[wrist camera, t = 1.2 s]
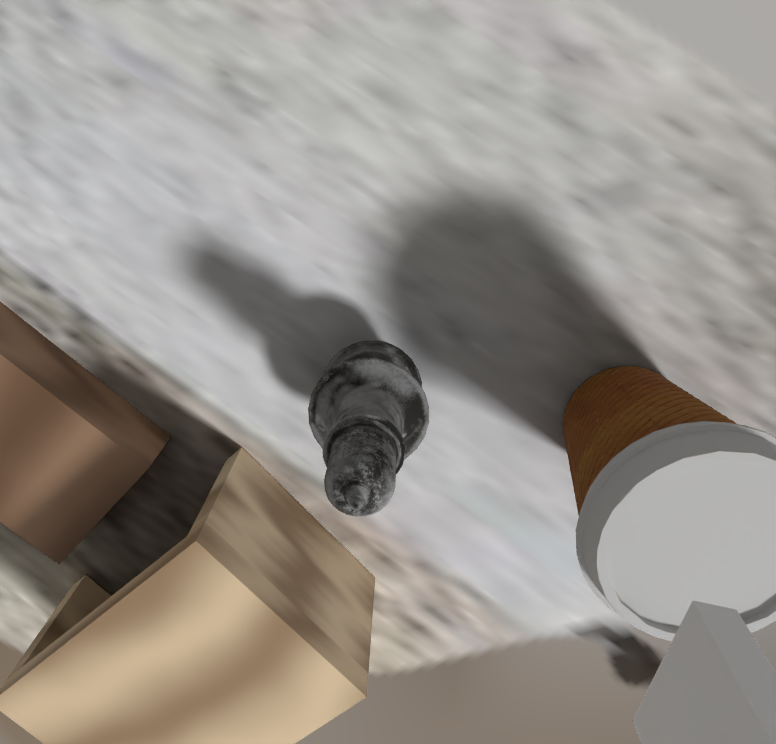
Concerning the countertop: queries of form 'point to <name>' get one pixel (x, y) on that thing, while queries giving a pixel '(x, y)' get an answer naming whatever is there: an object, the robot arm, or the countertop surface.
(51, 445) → the dark brown block
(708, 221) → the countertop surface
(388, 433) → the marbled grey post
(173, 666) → the oak bridge
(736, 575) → the disposable coffee cup
